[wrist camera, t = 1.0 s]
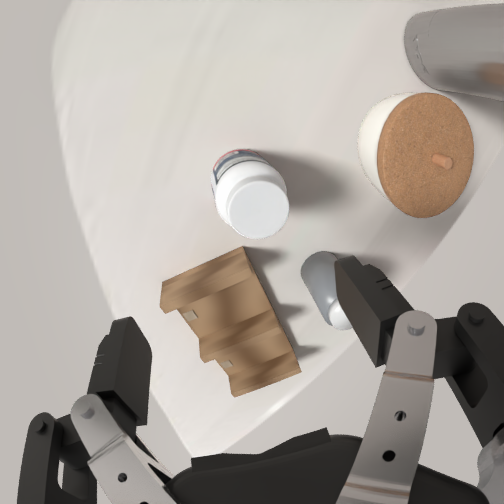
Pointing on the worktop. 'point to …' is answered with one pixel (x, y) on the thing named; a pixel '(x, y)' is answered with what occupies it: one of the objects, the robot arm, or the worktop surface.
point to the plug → (324, 288)
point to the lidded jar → (417, 151)
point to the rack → (232, 321)
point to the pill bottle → (249, 194)
